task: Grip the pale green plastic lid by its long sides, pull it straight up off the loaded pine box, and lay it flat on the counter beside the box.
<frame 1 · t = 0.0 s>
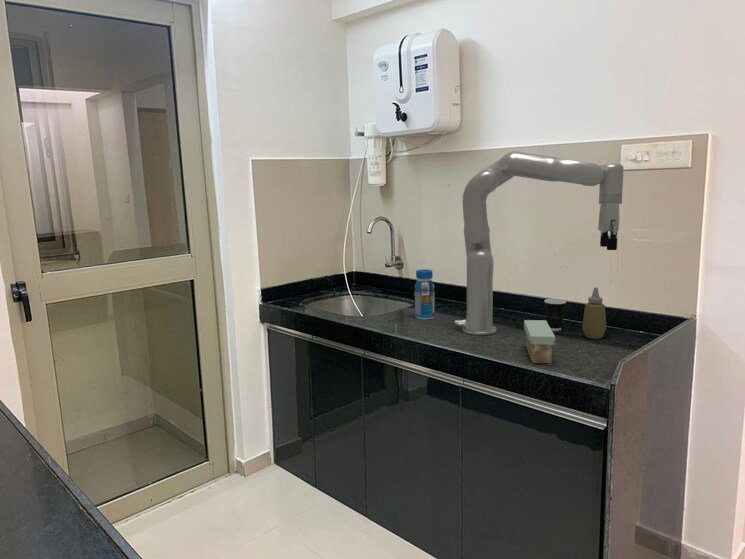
hand: (608, 248, 201), 31 cm above the countertop, tool pointing down, fingers open, 9 cm apart
box: (538, 354, 183), on the countertop
dixie cup: (554, 329, 213), on the countertop
squeeze bottle: (593, 337, 201), on the countertop
lid: (538, 335, 182), point 6 cm above the countertop, touching box
beverage bottle: (424, 318, 236), on the countertop
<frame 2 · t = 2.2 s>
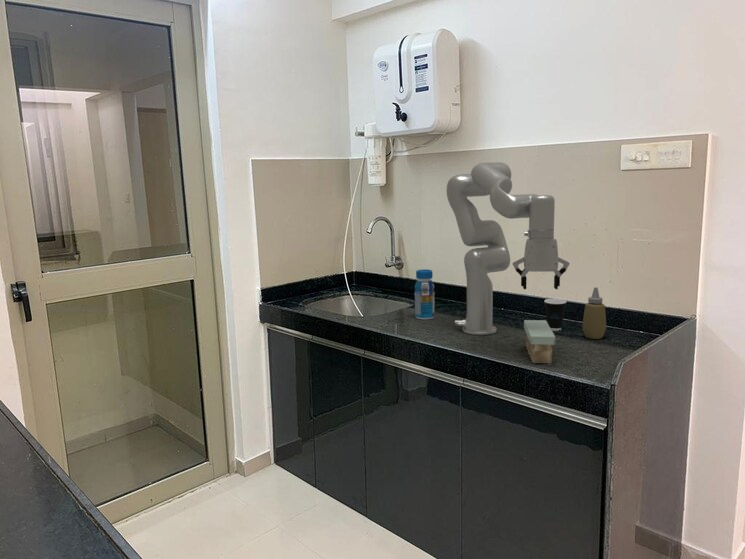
hand: (540, 288, 179), 22 cm above the countertop, tool pointing down, fingers open, 9 cm apart
nothing on the countertop moved.
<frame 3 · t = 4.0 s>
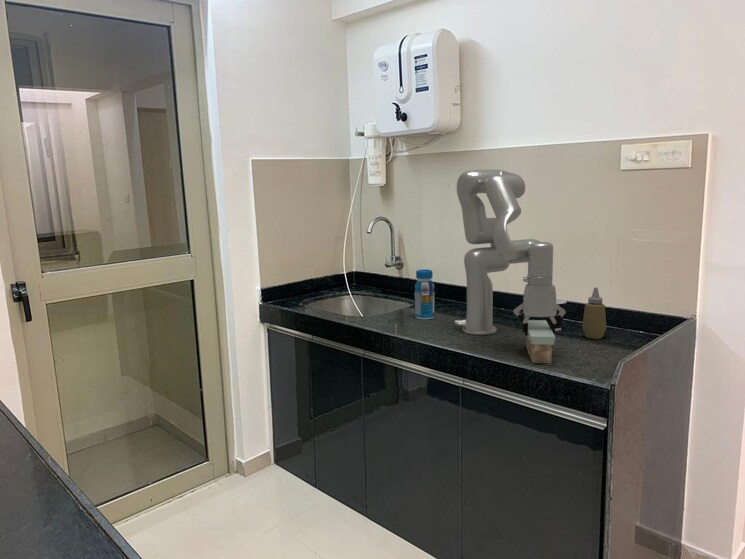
hand: (538, 334, 182), 7 cm above the countertop, tool pointing down, fingers closed on lid, 7 cm apart
lid: (538, 335, 182), point 7 cm above the countertop, touching box, gripper
everything else where it was.
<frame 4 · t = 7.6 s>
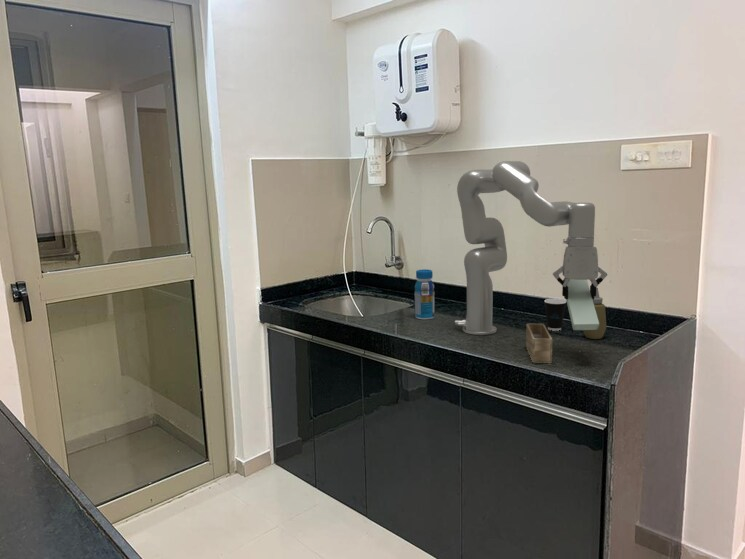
hand: (578, 298, 178), 19 cm above the countertop, tool pointing down, fingers closed on lid, 7 cm apart
lid: (579, 306, 177), point 16 cm above the countertop, tilted 32°, touching gripper
everything else where it was.
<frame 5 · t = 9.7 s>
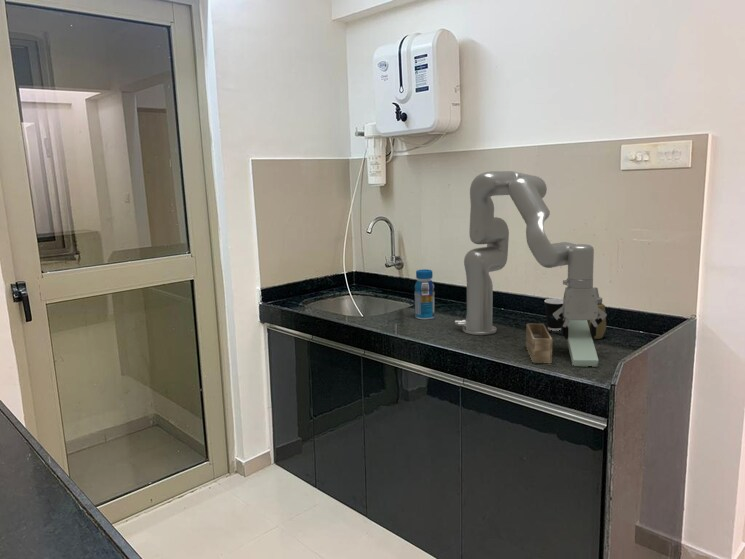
hand: (579, 337, 180), 6 cm above the countertop, tool pointing down, fingers closed on lid, 7 cm apart
lid: (579, 345, 179), point 4 cm above the countertop, tilted 23°, touching gripper
everything else where it was.
when the fingers open (2 cm above the countertop, at t = 11.5 s): lid drops 1 cm, on the countertop.
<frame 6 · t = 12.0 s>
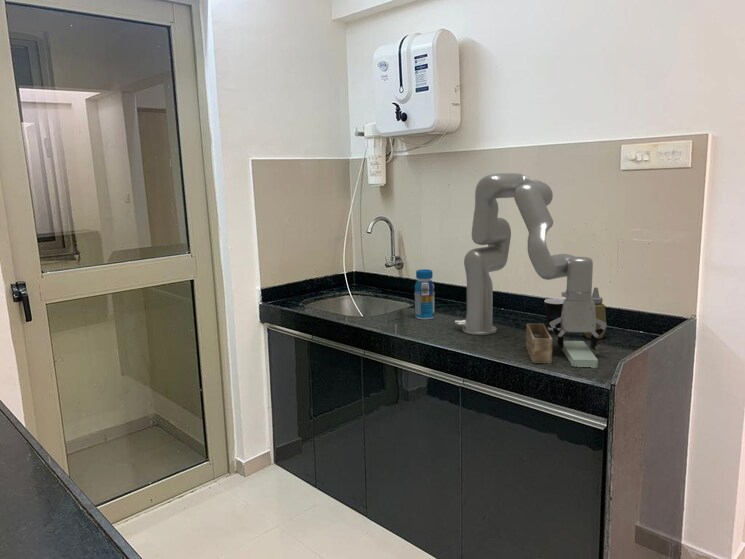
hand: (576, 348, 181), 3 cm above the countertop, tool pointing down, fingers open, 9 cm apart
lid: (578, 357, 180), on the countertop
everything else where it was.
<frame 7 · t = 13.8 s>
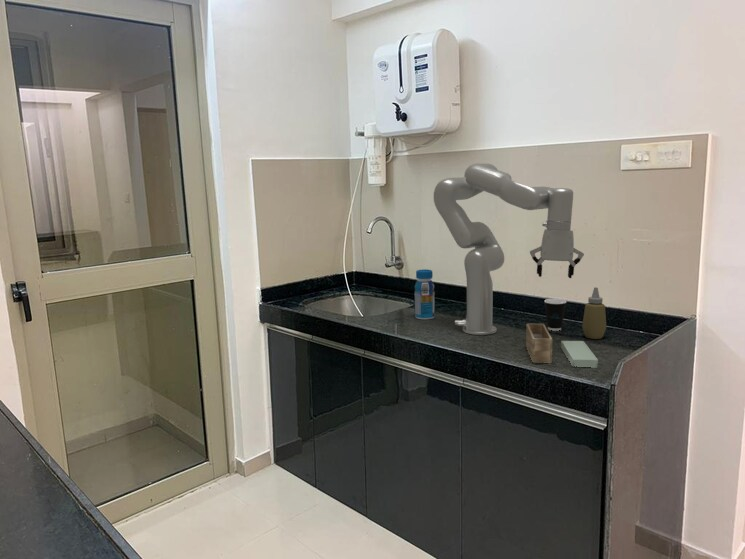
hand: (554, 276, 189), 24 cm above the countertop, tool pointing down, fingers open, 9 cm apart
nothing on the countertop moved.
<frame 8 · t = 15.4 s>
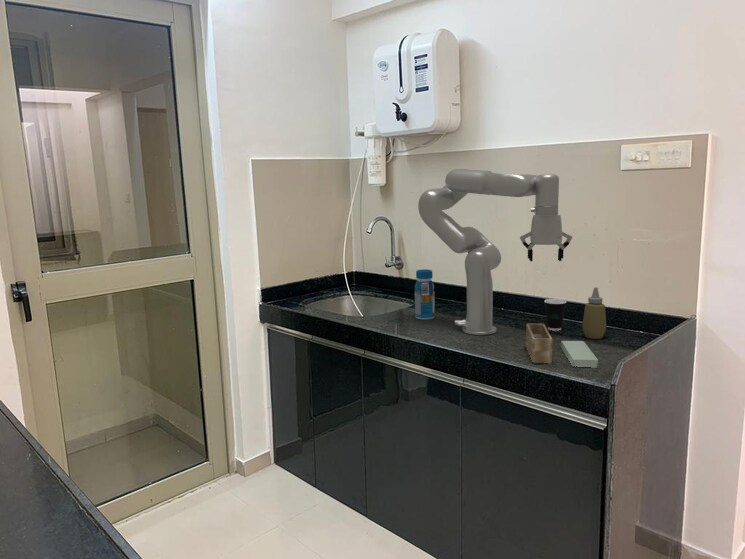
hand: (545, 260, 195), 28 cm above the countertop, tool pointing down, fingers open, 9 cm apart
nothing on the countertop moved.
at the end: lid inside the target area (1.9 cm from its centre), on the countertop; lid tilted 0°; the gripper is holding nothing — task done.
